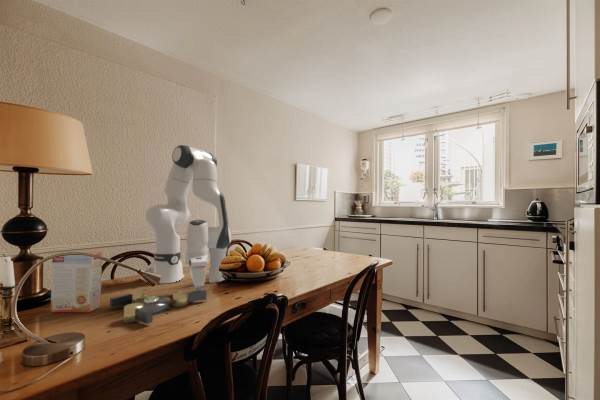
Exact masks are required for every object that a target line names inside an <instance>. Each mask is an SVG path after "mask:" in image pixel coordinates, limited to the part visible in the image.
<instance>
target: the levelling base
mask: <svg viewBox="0 0 600 400" xmlns="http://www.w3.org/2000/svg"><path fill="white" fill-rule="evenodd" d="M133 303H142V304H143V308H145V309H148V310H151V311H153V316H154V315H157V314H162V313H165V312H166V311H168V310H170V309H171V307H172V304H171V303H172V299H171V298H170V297H168V296H162V295H159V296H156V295H149V296H146V298H143V299H140V300H137V301H135V302H133ZM133 303H132V304H133Z"/></svg>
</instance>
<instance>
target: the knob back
mask: <svg viewBox="0 0 600 400" xmlns="http://www.w3.org/2000/svg"><path fill="white" fill-rule="evenodd" d="M143 298H147V290H146V289H142V288H141V289H134V290H131V291H130V292H129V293H126V294H121V295H118V296H117V295H116V296H113V297H109V308H110V309H116V308H120V307H124V306H126V305H129V304H132V303H133V302H135V301H137V300H140V299H143Z"/></svg>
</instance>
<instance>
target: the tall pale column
mask: <svg viewBox="0 0 600 400" xmlns="http://www.w3.org/2000/svg"><path fill="white" fill-rule="evenodd" d="M227 252H228V247H226V248H225V249H218V248H208V254H210V255H209V259H210V261H209V265H210V266H209V271H208V273H209V274H208V278H209V279H208V284H213V283H220V282H223V281H226V280H225V279H224V278H223V277H222V276H221V274H220V273H219V266H220V264H221V261H222V259H224V258H226V259H227Z"/></svg>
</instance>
